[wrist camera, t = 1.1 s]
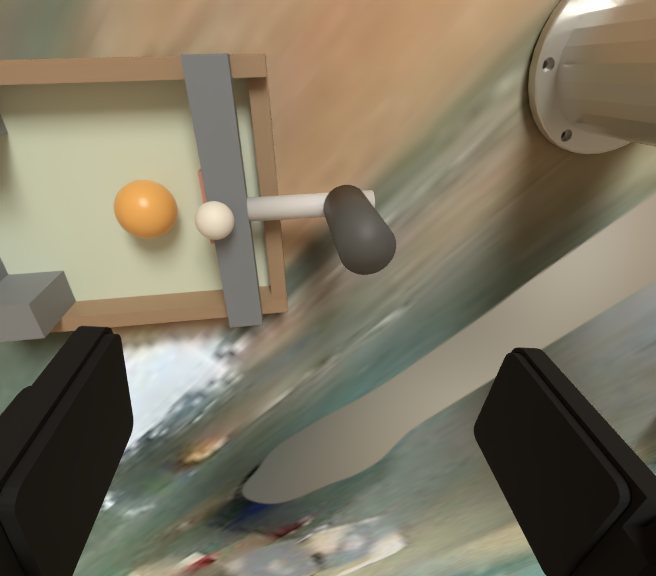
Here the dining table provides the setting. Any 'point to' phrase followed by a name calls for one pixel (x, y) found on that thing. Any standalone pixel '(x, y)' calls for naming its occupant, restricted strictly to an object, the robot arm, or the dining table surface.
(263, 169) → the foosball lane
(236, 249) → the kicker rod
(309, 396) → the dining table surface
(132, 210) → the ball
